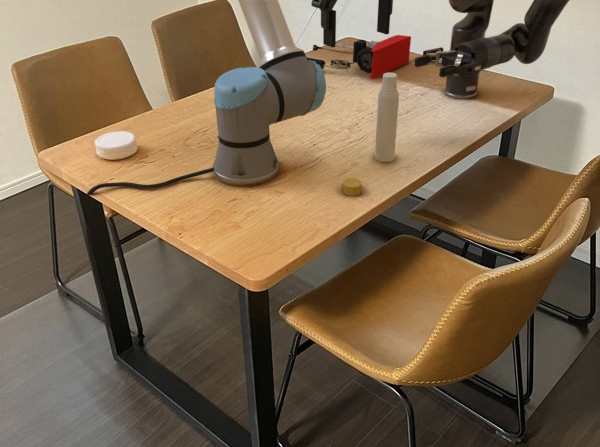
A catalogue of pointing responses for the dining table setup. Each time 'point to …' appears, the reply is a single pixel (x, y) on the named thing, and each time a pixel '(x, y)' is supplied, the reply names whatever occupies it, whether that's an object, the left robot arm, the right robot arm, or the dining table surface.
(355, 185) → the cap
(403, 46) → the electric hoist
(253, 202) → the dining table surface
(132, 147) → the white round container
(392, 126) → the bottle
